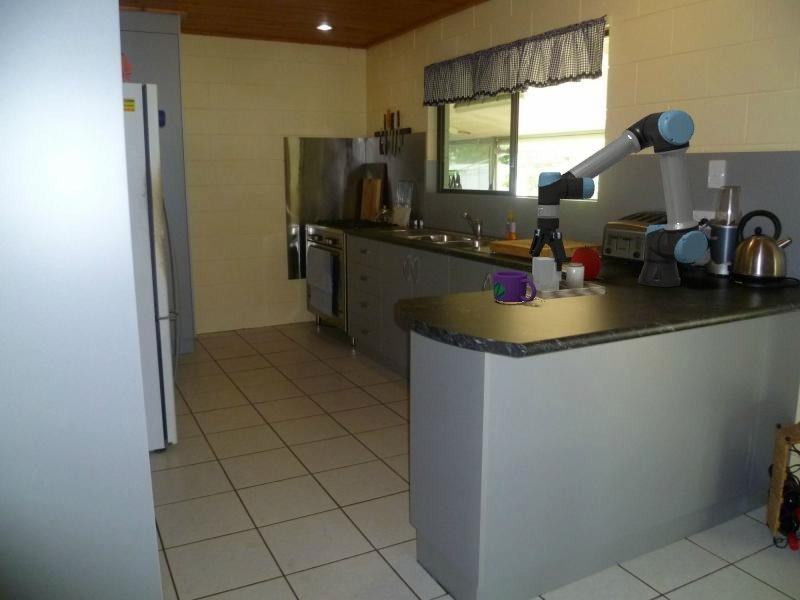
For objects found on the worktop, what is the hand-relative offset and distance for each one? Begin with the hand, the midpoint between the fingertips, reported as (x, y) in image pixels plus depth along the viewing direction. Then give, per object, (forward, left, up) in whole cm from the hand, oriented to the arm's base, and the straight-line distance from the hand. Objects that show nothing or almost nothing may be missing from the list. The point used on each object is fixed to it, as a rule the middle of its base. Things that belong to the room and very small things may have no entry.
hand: (546, 277), depth 228 cm
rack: (-6, 0, -7) cm, 9 cm away
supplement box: (0, 0, -6) cm, 6 cm away
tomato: (-32, -22, -7) cm, 39 cm away
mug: (+16, +7, -7) cm, 19 cm away
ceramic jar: (-12, 0, -6) cm, 13 cm away
